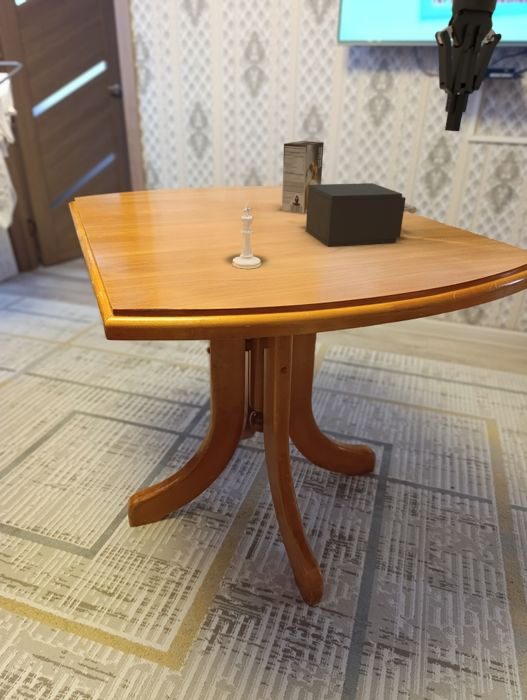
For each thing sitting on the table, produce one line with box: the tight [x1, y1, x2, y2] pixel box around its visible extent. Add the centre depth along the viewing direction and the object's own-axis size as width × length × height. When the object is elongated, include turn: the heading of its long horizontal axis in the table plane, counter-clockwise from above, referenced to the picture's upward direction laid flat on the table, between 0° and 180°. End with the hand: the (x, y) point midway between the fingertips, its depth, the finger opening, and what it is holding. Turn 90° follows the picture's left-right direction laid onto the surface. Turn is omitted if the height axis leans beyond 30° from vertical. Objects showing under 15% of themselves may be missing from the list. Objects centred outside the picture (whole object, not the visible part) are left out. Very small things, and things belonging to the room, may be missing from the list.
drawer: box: [396, 196, 418, 239], centre depth 104 cm, size 18×11×8 cm, turn 106°
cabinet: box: [305, 182, 403, 248], centre depth 103 cm, size 15×13×10 cm
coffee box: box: [281, 140, 325, 214], centre depth 123 cm, size 9×6×16 cm
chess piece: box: [231, 204, 262, 270], centre depth 85 cm, size 5×5×10 cm
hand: (451, 130), depth 101 cm, fingers closed
